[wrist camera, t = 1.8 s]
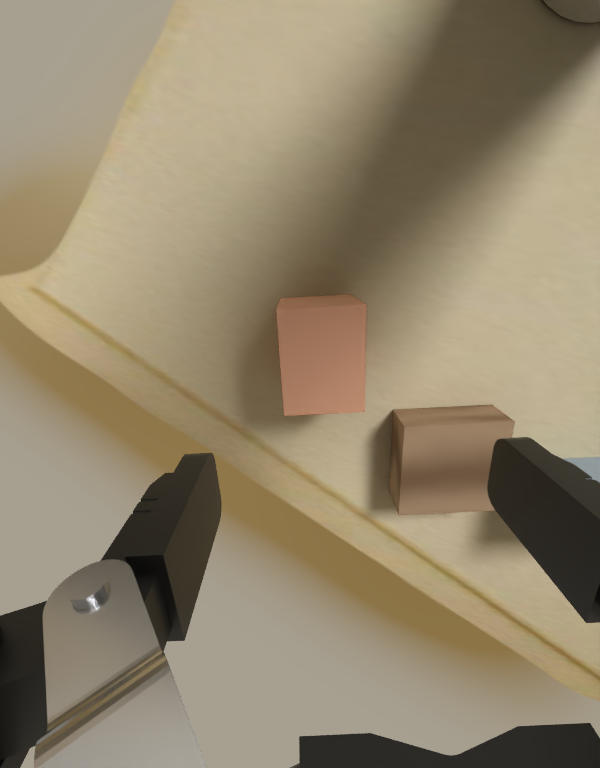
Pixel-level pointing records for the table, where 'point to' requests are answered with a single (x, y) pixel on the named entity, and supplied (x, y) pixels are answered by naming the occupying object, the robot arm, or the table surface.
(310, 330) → the brick terracotta
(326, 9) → the table surface
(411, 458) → the base block
